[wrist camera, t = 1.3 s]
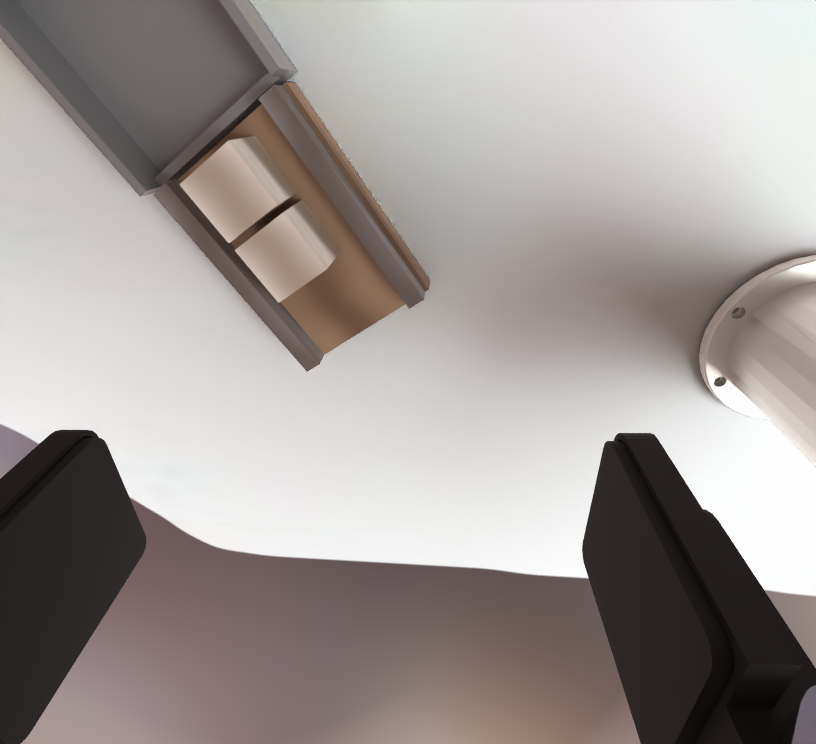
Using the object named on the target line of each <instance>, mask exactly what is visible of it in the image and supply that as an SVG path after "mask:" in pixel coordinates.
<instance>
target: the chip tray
mask: <svg viewBox="0 0 816 744" xmlns="http://www.w3.org/2000/svg"><path fill="white" fill-rule="evenodd" d="M0 38H1V39H2V40H3V41H4V42H5V44H6V45H7V46H8V47H9V48H10V49H11V50H12V51H13V53H14V54H15V55H16V56H17V57H18V58H19V59H20V61H21V62H22V63H23V64H24V65H25V66H26V67H27V68H28V70H29V71H30V72H31V73H32V74H33V75H34V76H35V78H36V79H37V80H38V81H39V82H40V83H41V84H42V85H43V87H44V88H45V89H46V90H47V91H48V92H49V93H50V95H51V96H52V97H53V98H54V99H55V100H56V101H57V103H58V104H59V105H60V106H61V107H62V108H63V109H64V110H65V112H66V113H67V114H68V115H69V116H70V117H71V118H72V120H73V121H74V122H75V123H76V124H77V125H78V126H79V127H80V129H81V130H82V131H83V132H84V133H85V134H86V135H87V137H88V138H89V139H90V140H91V141H92V142H93V143H94V144H95V146H96V147H97V148H98V149H99V150H100V151H101V152H102V154H103V155H104V156H105V157H106V158H107V159H108V160H109V162H110V163H111V164H112V165H113V166H114V167H115V168H116V169H117V171H118V172H119V173H120V174H121V175H122V176H123V177H124V179H125V180H126V181H127V182H128V183H129V184H130V185H131V186H132V188H133V189H134V190H135V191H136V192H137V193H138V194H139V196H140V197H141V196H144V195H147V194H150V193H154V192H157V191H158V190H159V189H160V188H161V187H162V186H164V185H165V184H166V183H169V182H172V181H176V180H178V179H179V178H180V177H181V176H182V175H183V174H185V173H186V172H187V171H188V170H189V169H190V168H191V167H192V166H193V165H195V164H196V163H197V162H198V161H199V160H200V159H201V158H202V157H203V156H204V155H206V154H207V153H208V152H209V151H210V150H211V149H212V148H213V147H214V146H215V145H217V144H218V143H219V142H220V141H221V140H222V139H223V138H224V137H225V136H227V135H228V134H229V133H230V132H231V131H232V130H233V129H234V128H235V127H236V126H238V125H239V124H240V123H241V122H242V121H243V120H244V119H245V118H246V117H247V116H249V115H250V114H251V113H252V112H253V111H254V110H255V109H256V108H257V107H259V106H260V105H261V104H262V103H261V102H260V101H259V98H260V97H261V96H262V95H263V94H264V93H265V92H266V91H268V90H269V89H270V88H271V87H272V86H273V85H283V84H284V83H285V82H286V81H287V80H288V79H289V78H291V77H292V76H293V75H294V74H295V73H296V72H297V70H296V68H295V67H294V65H293V64H292V62H291V61H290V59H289V58H288V56H287V55H286V53H285V52H284V50H283V49H282V48H281V46H280V45H279V43H278V42H277V40H276V39H275V37H274V36H273V34H272V33H271V31H270V30H269V28H268V27H267V25H266V24H265V22H264V21H263V19H262V18H261V16H260V15H259V13H258V12H257V10H256V9H255V7H254V6H253V4H252V3H251V2H250V0H0Z"/></svg>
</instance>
